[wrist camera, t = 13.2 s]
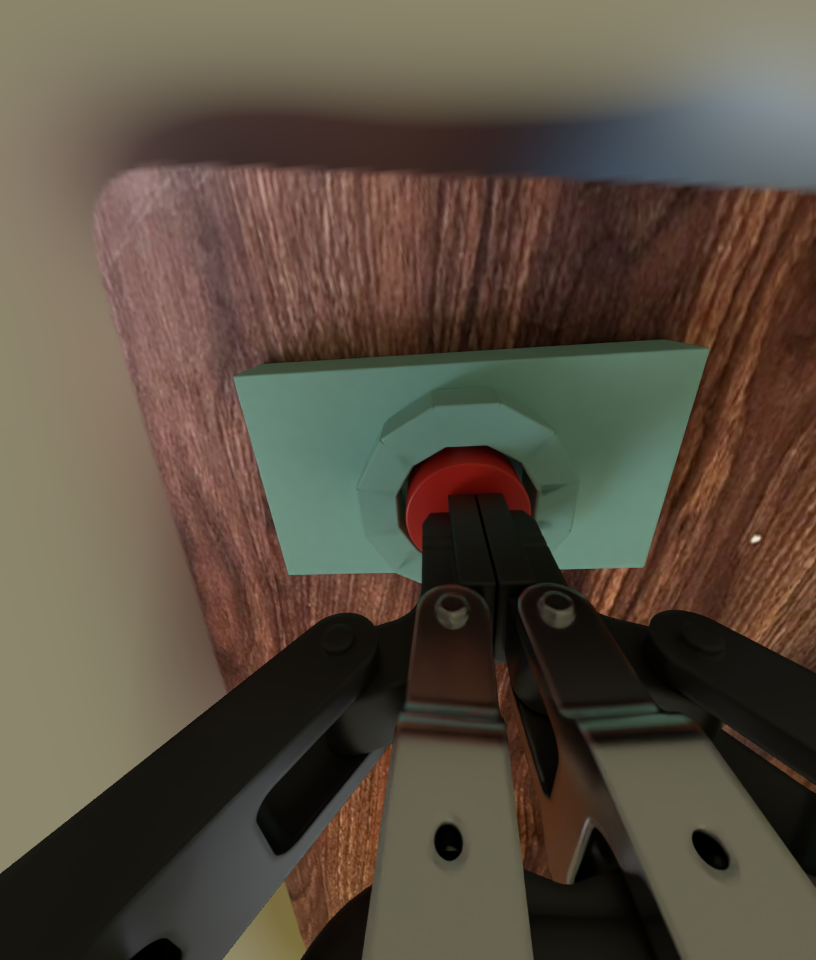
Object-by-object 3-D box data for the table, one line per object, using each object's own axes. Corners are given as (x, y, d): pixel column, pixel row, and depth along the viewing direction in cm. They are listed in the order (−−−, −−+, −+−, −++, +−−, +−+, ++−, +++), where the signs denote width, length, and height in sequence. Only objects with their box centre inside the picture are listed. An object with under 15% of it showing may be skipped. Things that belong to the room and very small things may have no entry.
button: (411, 536, 13) (409, 569, 11) (404, 442, 11) (401, 465, 10) (513, 533, 13) (526, 567, 11) (522, 436, 11) (537, 460, 9)
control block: (304, 542, 17) (271, 609, 13) (260, 363, 13) (198, 389, 9) (617, 534, 16) (673, 604, 12) (665, 338, 12) (765, 357, 8)
